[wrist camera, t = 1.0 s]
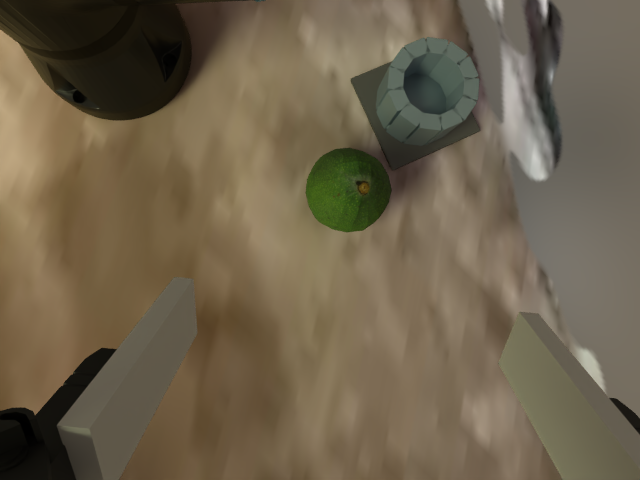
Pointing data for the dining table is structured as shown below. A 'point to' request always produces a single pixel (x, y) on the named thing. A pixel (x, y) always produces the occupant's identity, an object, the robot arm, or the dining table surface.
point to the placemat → (392, 147)
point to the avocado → (348, 190)
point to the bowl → (427, 91)
